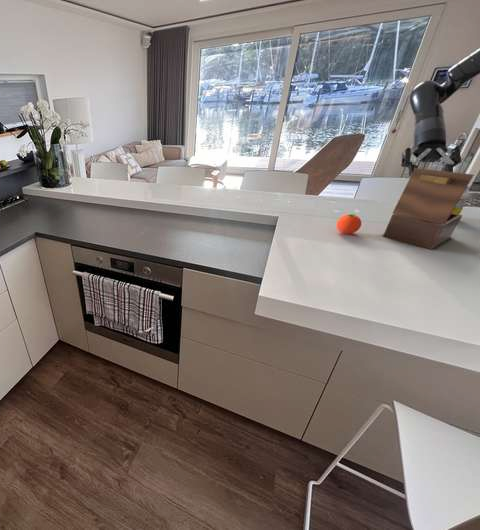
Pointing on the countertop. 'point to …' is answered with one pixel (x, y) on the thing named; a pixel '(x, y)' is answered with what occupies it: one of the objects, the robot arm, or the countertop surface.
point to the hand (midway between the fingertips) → (430, 176)
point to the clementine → (348, 223)
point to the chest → (421, 230)
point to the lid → (432, 195)
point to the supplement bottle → (461, 201)
